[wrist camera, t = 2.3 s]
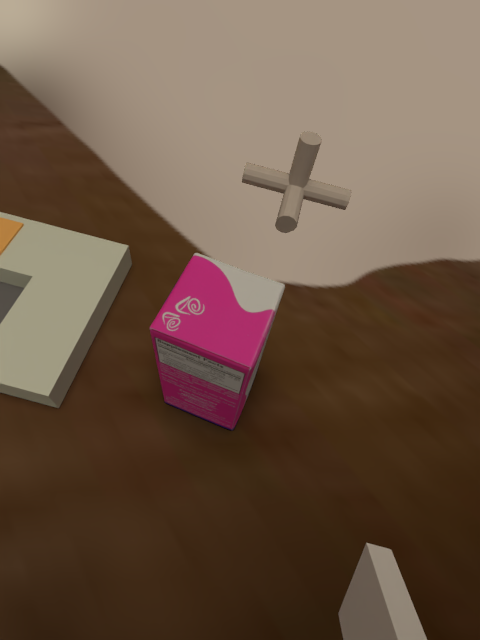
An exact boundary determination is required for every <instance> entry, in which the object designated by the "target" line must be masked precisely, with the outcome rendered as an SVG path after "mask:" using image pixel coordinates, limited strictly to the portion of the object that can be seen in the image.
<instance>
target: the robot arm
mask: <svg viewBox="0 0 480 640" xmlns="http://www.w3.org/2000/svg"><path fill="white" fill-rule="evenodd" d="M338 614H339V619H340V624H341V630H342V635H343V640H427V638H426V636H425V633H424V631H423V628H422V626H421V623H420V621H419V618H418V616H417V613H416V611H415V608H414V606H413V603H412V601H411V598H410V596H409V593H408V591H407V588H406V586H405V583H404V581H403V578H402V576H401V573H400V571H399V568H398V566H397V563H396V561H395V558H394V556H393V553H392V551H391V549H388V548H384V547H380V546H376V545H373V544H369V543H366V545H365V547H364V550H363V552H362V555H361V557H360V560H359V563H358V565H357V568H356V570H355V573H354V575H353V578H352V580H351V583H350V585H349V588H348V590H347V593H346V595H345V598H344V600H343V603H342V606H341V608H340V611H339V613H338Z"/></svg>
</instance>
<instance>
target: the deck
mask: <svg viewBox="0 0 480 640" xmlns="http://www.w3.org/2000/svg"><path fill="white" fill-rule="evenodd" d="M131 265H132V262H131V256H130V251H129V246H127V245H124V244H120V243H116V242H112V241H108V240H105V239H101V238H97V237H93V236H89V235H86V234H82V233H78V232H74V231H70V230H67V229H63V228H59V227H55V226H51V225H47V224H44V223H40V222H36V221H32V220H28V219H25V218H21V217H17V216H13V215H9V214H6V213H2V212H0V392H1V393H4V394H8V395H12V396H15V397H19V398H23V399H27V400H30V401H34V402H38V403H41V404H45V405H49V406H52V407H56V408H59V407H60V405H61V403H62V401H63V399H64V397H65V395H66V393H67V391H68V389H69V387H70V385H71V384H72V382H73V380H74V378H75V376H76V374H77V372H78V370H79V368H80V366H81V364H82V362H83V360H84V358H85V356H86V354H87V352H88V350H89V348H90V346H91V344H92V342H93V340H94V338H95V336H96V334H97V332H98V330H99V328H100V326H101V324H102V323H103V321H104V319H105V317H106V315H107V313H108V311H109V309H110V307H111V305H112V303H113V301H114V299H115V297H116V295H117V293H118V291H119V289H120V287H121V285H122V283H123V281H124V279H125V277H126V275H127V273H128V271H129V269H130V267H131Z"/></svg>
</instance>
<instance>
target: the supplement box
mask: <svg viewBox="0 0 480 640" xmlns="http://www.w3.org/2000/svg"><path fill="white" fill-rule="evenodd" d="M284 288H285V285H284V284H282V283H279V282H276V281H273V280H270V279H268V278H265V277H262V276H259V275H256V274H253V273H250V272H247V271H244V270H242V269H239V268H236V267H233V266H231V265H228V264H225V263H223V262H220V261H217V260H215V259H212V258H209V257H207V256H204V255H201V254H199V253H195V254H194V255H193V257H192V258H191V260H190V262H189V263H188V265H187V266H186V268H185V270H184V272H183V273H182V275H181V277H180V278H179V280H178V281H177V283H176V285H175V286H174V288H173V290H172V292H171V293H170V295H169V296H168V298H167V300H166V301H165V303H164V305H163V307H162V308H161V310H160V311H159V313H158V315H157V317H156V318H155V320H154V321H153V323H152V325H151V326H150V332H151V337H152V342H153V347H154V351H155V356H156V361H157V366H158V371H159V376H160V381H161V386H162V391H163V396H164V401H165V403H167V404H169V405H171V406H174V407H176V408H179V409H181V410H183V411H186V412H188V413H190V414H193V415H195V416H197V417H200V418H202V419H204V420H207V421H209V422H211V423H214V424H216V425H219V426H221V427H223V428H226V429H229V430H234V428H235V426H236V424H237V422H238V419H239V417H240V414H241V412H242V410H243V407H244V405H245V402H246V400H247V397H248V395H249V392H250V389H251V387H252V384H253V381H254V378H255V376H256V373H257V370H258V366H259V363H260V360H261V356H262V353H263V350H264V347H265V344H266V341H267V338H268V335H269V332H270V329H271V327H272V324H273V321H274V318H275V315H276V312H277V309H278V306H279V303H280V300H281V297H282V294H283V291H284Z"/></svg>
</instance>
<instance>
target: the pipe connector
mask: <svg viewBox="0 0 480 640" xmlns="http://www.w3.org/2000/svg"><path fill="white" fill-rule="evenodd" d="M321 140H322V139H321V137H320V136H319V135H317V134H316V133H313V132H303V133H302V134H301V135H300V138H299V142H298V145H297V149H296V152H295V156H294V160H293V163H292V167H291V170H290V174H288V173H285V172H281V171H277V170H274V169H270V168H266V167H262V166H259V165H255V164H251V163H246V166H245V169H244V173H243V179H242V182H243V183H246V184H250V185H254V186H258V187H261V188H265V189H269V190H272V191H276V192H280V193H284V195H283V199H282V203H281V207H280V210H279V213H278V217H277V221H276V225H275V226H276V228H277V229H278V230H279V231H281V232H284V233H287V232H290V231H293V230H294V229H295V228H296V227H297V223H298V219H299V214H300V210H301V206H302V201H303V199H306V200H310V201H313V202H317V203H321V204H324V205H328V206H332V207H336V208H339V209H343V210H345V209H346V207H347V205H348V203H349V200H350V197H351V190H348V189H345V188H341V187H337V186H333V185H330V184H326V183H322V182H318V181H315V180H311V179H309V177H310V174H311V171H312V168H313V165H314V162H315V159H316V156H317V153H318V150H319V147H320V144H321Z"/></svg>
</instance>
